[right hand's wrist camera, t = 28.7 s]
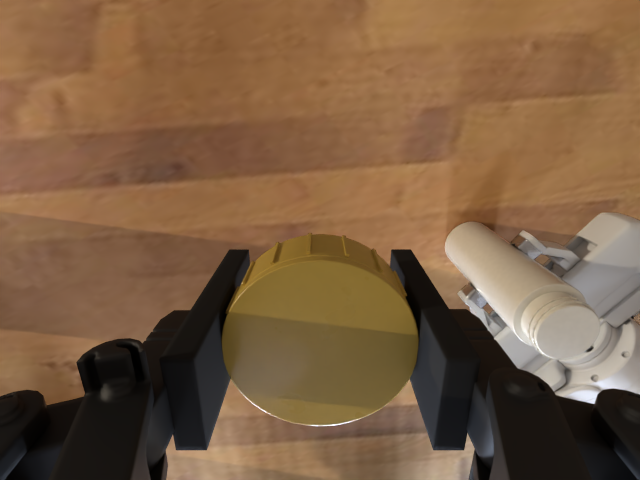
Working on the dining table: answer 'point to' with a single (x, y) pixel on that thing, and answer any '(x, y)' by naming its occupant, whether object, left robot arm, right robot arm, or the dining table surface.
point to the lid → (320, 332)
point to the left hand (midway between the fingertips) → (491, 265)
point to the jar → (524, 292)
